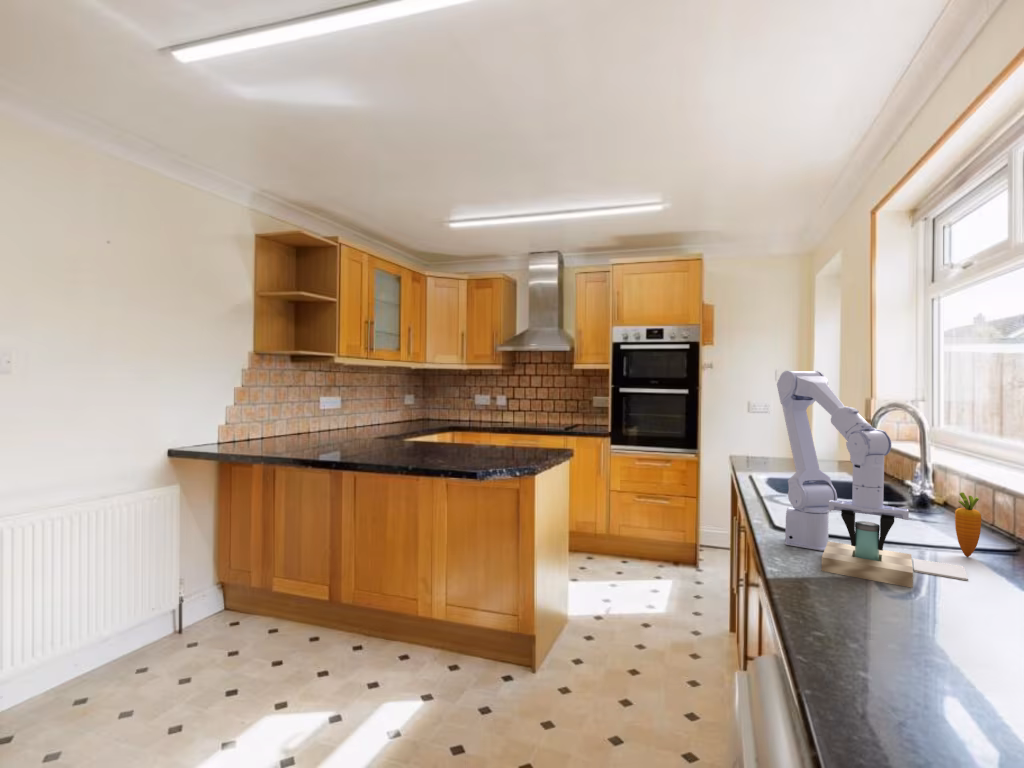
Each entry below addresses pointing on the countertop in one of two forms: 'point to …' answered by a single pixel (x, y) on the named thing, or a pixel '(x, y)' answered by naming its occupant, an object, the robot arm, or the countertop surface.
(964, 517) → the carrot
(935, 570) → the mat
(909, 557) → the tan board with hole
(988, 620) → the countertop surface
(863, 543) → the plug
